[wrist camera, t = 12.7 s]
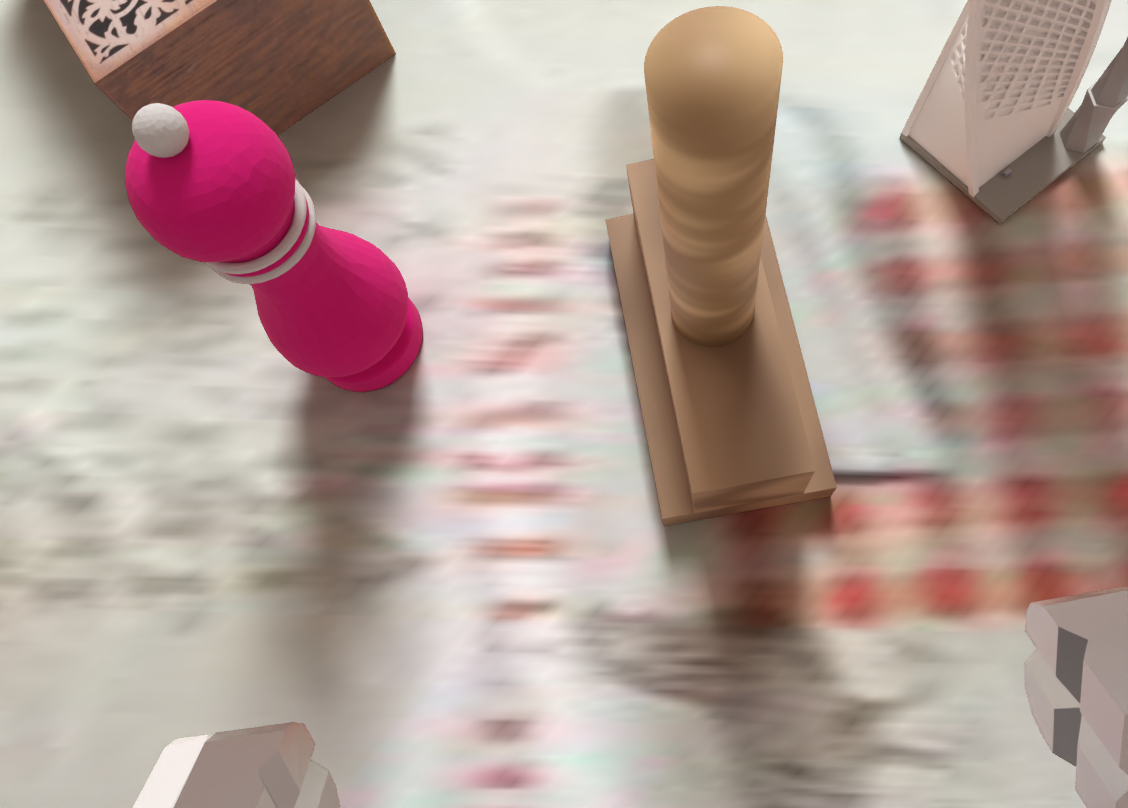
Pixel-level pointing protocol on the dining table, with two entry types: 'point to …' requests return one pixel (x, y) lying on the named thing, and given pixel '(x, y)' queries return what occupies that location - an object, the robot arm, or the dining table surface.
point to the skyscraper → (1015, 99)
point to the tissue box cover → (225, 51)
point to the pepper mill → (270, 241)
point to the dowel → (713, 162)
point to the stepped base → (716, 385)
